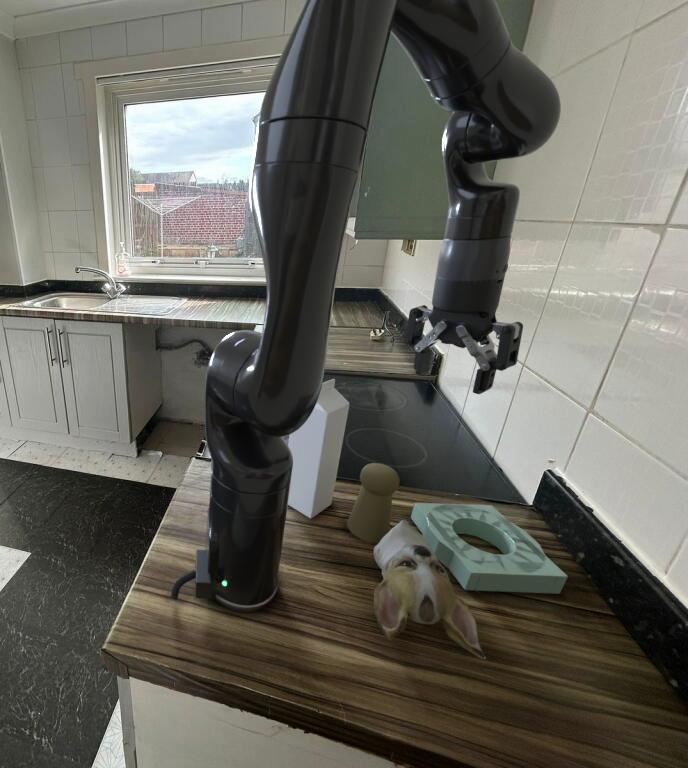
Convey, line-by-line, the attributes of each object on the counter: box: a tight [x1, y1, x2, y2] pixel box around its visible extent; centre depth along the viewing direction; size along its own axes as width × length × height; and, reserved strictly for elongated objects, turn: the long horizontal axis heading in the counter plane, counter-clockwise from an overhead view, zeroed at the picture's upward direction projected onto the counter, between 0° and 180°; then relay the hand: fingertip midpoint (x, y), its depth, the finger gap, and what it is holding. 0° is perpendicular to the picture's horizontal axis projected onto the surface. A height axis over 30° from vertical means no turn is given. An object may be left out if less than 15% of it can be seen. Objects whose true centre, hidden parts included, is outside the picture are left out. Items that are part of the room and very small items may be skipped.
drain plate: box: [410, 502, 569, 595], centre depth 58 cm, size 14×14×3 cm
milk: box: [287, 378, 350, 520], centre depth 64 cm, size 6×6×22 cm
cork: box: [346, 462, 400, 544], centre depth 61 cm, size 6×6×11 cm
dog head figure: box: [373, 519, 487, 660], centre depth 49 cm, size 11×9×15 cm
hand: (449, 382), depth 60 cm, fingers open, 8 cm apart
